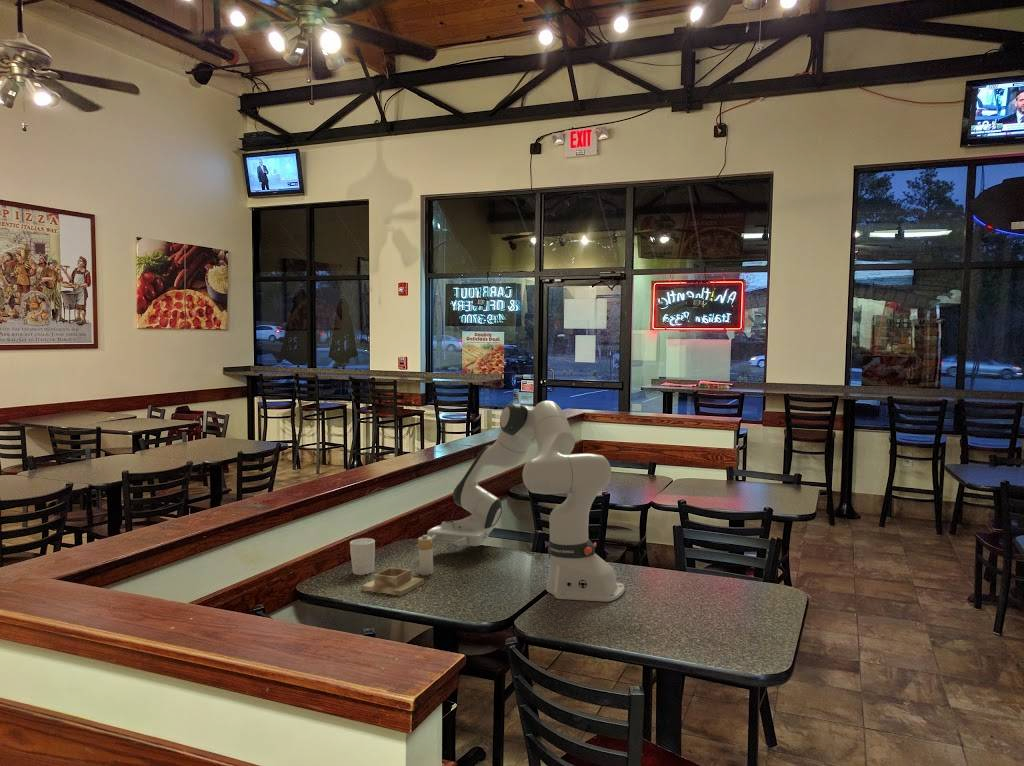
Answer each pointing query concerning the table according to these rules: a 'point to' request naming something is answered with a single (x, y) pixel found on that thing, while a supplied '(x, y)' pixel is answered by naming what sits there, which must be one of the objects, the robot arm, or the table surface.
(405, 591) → the charging dock
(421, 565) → the battery cell
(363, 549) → the white cup
